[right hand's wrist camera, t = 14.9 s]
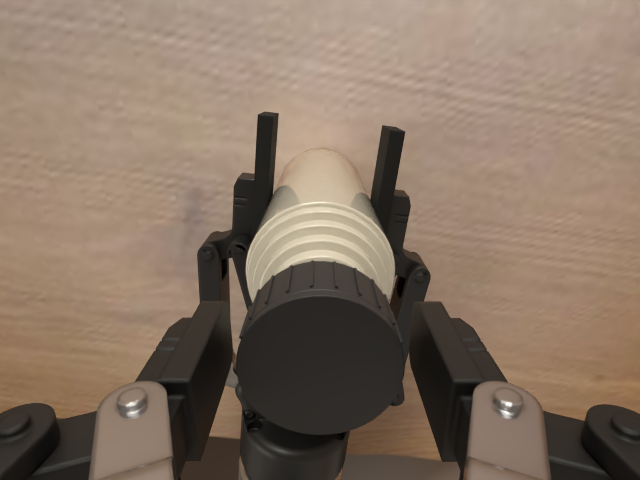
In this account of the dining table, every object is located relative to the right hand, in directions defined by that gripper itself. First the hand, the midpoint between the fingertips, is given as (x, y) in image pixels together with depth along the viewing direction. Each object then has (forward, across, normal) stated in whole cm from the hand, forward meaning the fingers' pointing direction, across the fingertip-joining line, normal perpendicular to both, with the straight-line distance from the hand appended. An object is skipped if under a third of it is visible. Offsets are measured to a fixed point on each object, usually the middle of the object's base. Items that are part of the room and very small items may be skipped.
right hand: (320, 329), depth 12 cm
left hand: (+12, -1, -5) cm, 13 cm away
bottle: (+18, 0, 0) cm, 18 cm away
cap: (-2, 0, 0) cm, 2 cm away
